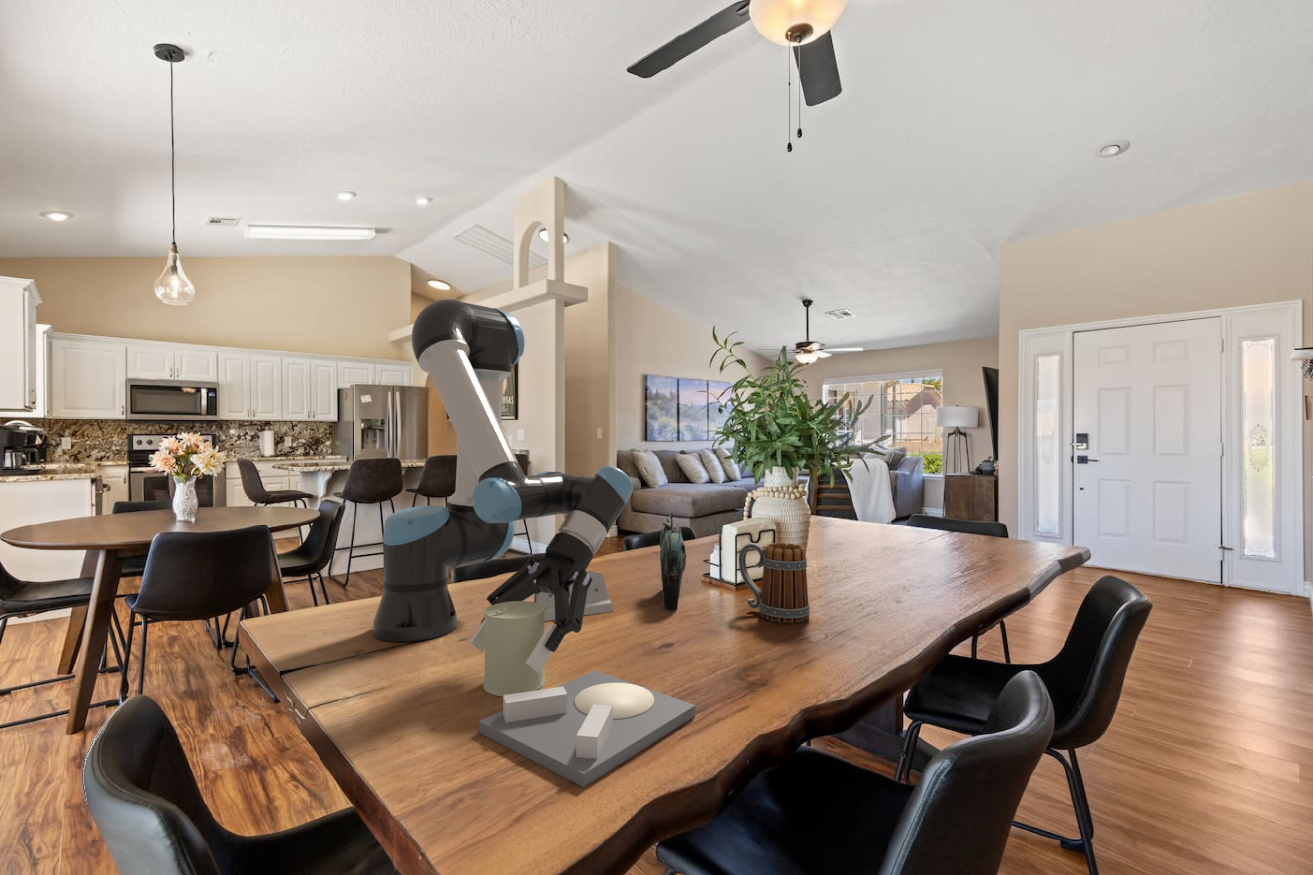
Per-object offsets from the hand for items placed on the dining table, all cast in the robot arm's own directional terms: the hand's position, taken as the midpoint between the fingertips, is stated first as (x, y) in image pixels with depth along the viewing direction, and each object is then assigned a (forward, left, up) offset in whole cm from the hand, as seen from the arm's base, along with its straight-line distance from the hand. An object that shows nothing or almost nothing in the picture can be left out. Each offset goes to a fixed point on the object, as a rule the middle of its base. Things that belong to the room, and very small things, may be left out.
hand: (502, 657), depth 91 cm
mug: (+14, +60, -5) cm, 62 cm away
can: (0, +2, -5) cm, 5 cm away
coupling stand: (+18, +1, -5) cm, 19 cm away
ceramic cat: (-10, +56, -5) cm, 57 cm away
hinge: (-20, +34, -5) cm, 40 cm away
